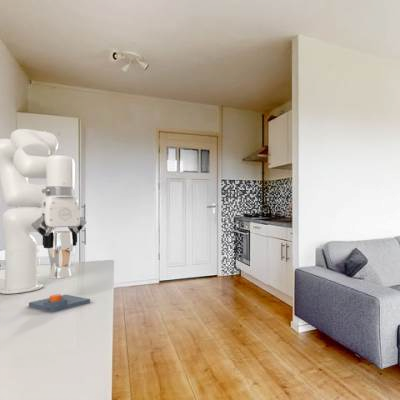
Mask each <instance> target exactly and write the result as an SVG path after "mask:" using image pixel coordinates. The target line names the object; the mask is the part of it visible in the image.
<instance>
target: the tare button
mask: <svg viewBox="0 0 400 400" xmlns="http://www.w3.org/2000/svg"><path fill="white" fill-rule="evenodd" d="M62 295H63V294H60V293H59V294H52V295H49V298H50V302H55V301H60V300H62Z"/></svg>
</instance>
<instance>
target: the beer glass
mask: <svg viewBox="0 0 400 400" xmlns="http://www.w3.org/2000/svg"><path fill="white" fill-rule="evenodd" d="M50 236H51V248H47V253H48V258H49V264H50V270H49V275H48V278H49V279H51V280H61V279H67V278H70V277H72V276H73V275H72V269H71V262H72V261H71V260H72V255H73V250H74V246H73V234H72V231H70V230H58V231H57V230H55V231H51V233H50Z"/></svg>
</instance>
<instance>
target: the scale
mask: <svg viewBox="0 0 400 400" xmlns="http://www.w3.org/2000/svg"><path fill="white" fill-rule="evenodd" d="M61 295H62V300H60V301H55V302H50V297H48V298H47V297H46V298H43V299H39V300H38V299H37V300H34V301H29V302H28V307H29V308H31V309H37V310H41V311H45V312H49V313H57V312H61V311H64V310H68V309H72V308H76V307H80V306H84V305H87V304H91V299H90V298H86V297H81V296H76V295H70V294H61Z"/></svg>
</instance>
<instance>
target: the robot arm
mask: <svg viewBox="0 0 400 400" xmlns="http://www.w3.org/2000/svg"><path fill="white" fill-rule="evenodd" d="M58 147H59V141H58V138H57V136H55V134H54V133H52V132H49V131H43V130H38V129H37V130H36V129H31V128H30V129H29V128H18V129H15V130H13V131H12V132H11V134H10V136H9V138H0V189H1V194H2V198H3V201H4V203H5V205H6V206H8V207H12V208H9V209H7V210H5V211H4V212H3V214H2V215H1V223H2V229H3V233H4V234H3V235H4V253H5V254H4V258H5V259H4V260H5V261H4V267H5V269H4V287H2V288H0V294H2V295H3V294H4V295H13V294H22V293H29V292H33V291H37V290H40V289H42V288H43V284H42V283H38V243H37V240H36V239H35V238H34V237H33V236H32V235H31V234H30V233H39V235H40V236H42V246H43V248H44V249H48V248H51V236H50V233H51V232H53V231H54V230H56V229H57V228H67V229H68V231H72V234H73V247H76V246H77V243H78V234H79V233H80V231H81V230H82V229H83V228H84V227H85V225H86V224H87V221H86V220H85V219H84V218H83V217H81V211H80V206H79V201H78V198H77V197H76V196H75V161H74V158H73V157H71V156H68V155H59V154H58V155H57V154H56V155H55V153H57V150H58ZM29 179H40V180H41V179H42V180H46V183H45V184H44V183H43V184H42V183H31V182H29Z"/></svg>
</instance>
